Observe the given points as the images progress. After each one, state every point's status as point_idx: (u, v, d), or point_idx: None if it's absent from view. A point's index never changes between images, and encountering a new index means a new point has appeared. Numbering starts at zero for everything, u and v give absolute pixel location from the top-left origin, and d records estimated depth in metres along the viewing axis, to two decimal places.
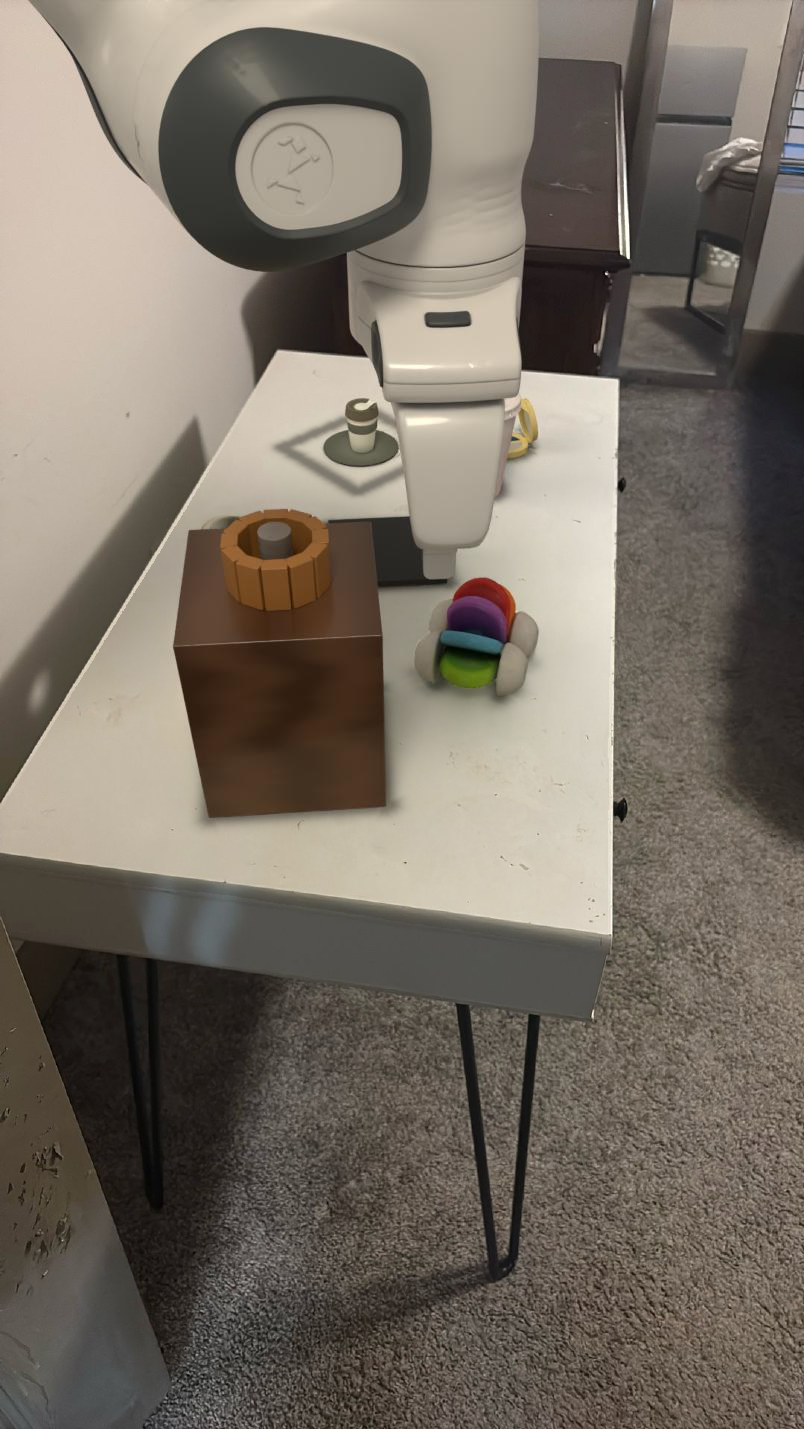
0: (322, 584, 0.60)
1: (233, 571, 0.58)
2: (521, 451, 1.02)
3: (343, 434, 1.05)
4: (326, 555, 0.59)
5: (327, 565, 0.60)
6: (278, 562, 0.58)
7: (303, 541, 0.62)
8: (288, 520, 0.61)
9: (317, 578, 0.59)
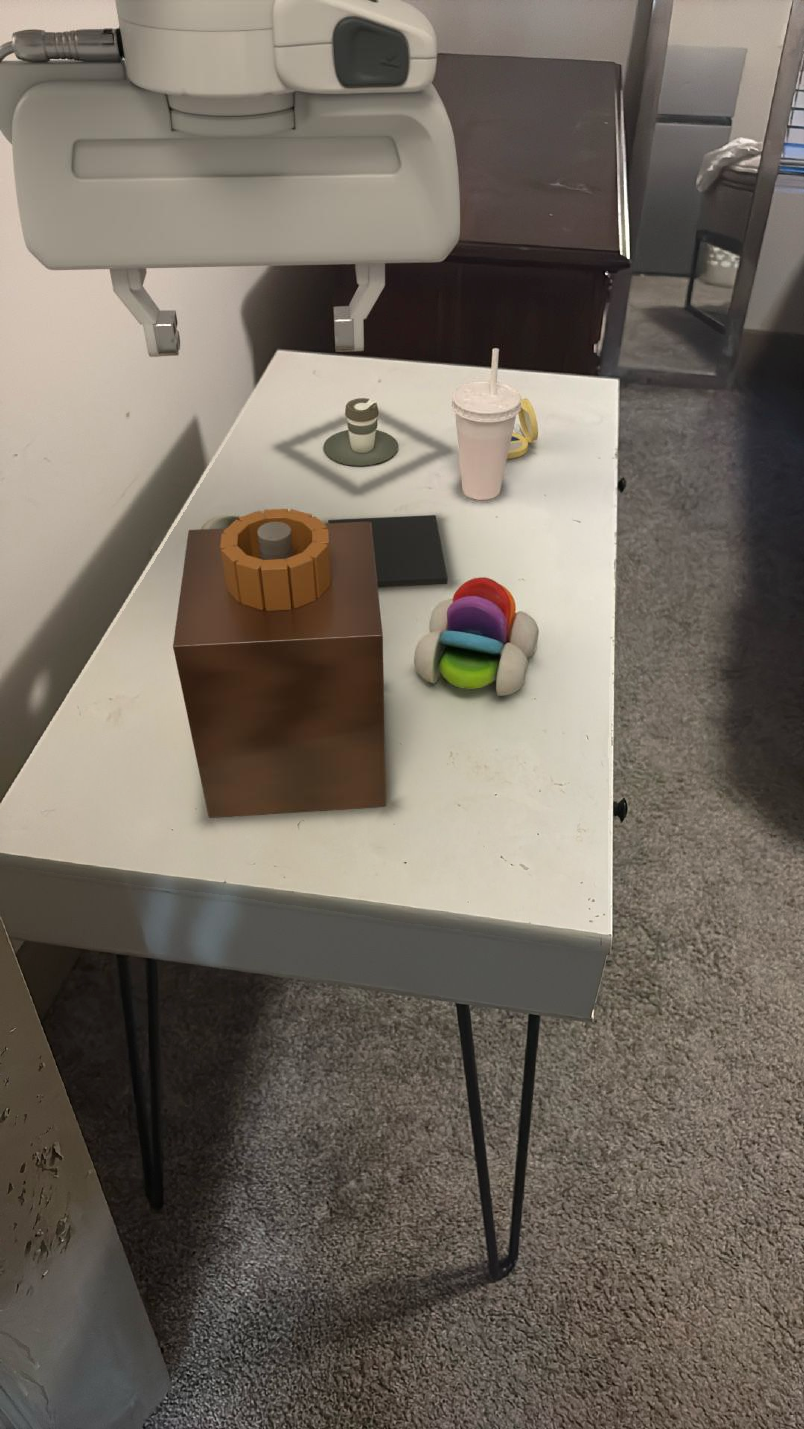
0: (322, 584, 0.60)
1: (233, 571, 0.58)
2: (521, 451, 1.02)
3: (343, 434, 1.05)
4: (326, 555, 0.59)
5: (327, 565, 0.60)
6: (278, 562, 0.58)
7: (303, 541, 0.62)
8: (288, 520, 0.61)
9: (317, 578, 0.59)
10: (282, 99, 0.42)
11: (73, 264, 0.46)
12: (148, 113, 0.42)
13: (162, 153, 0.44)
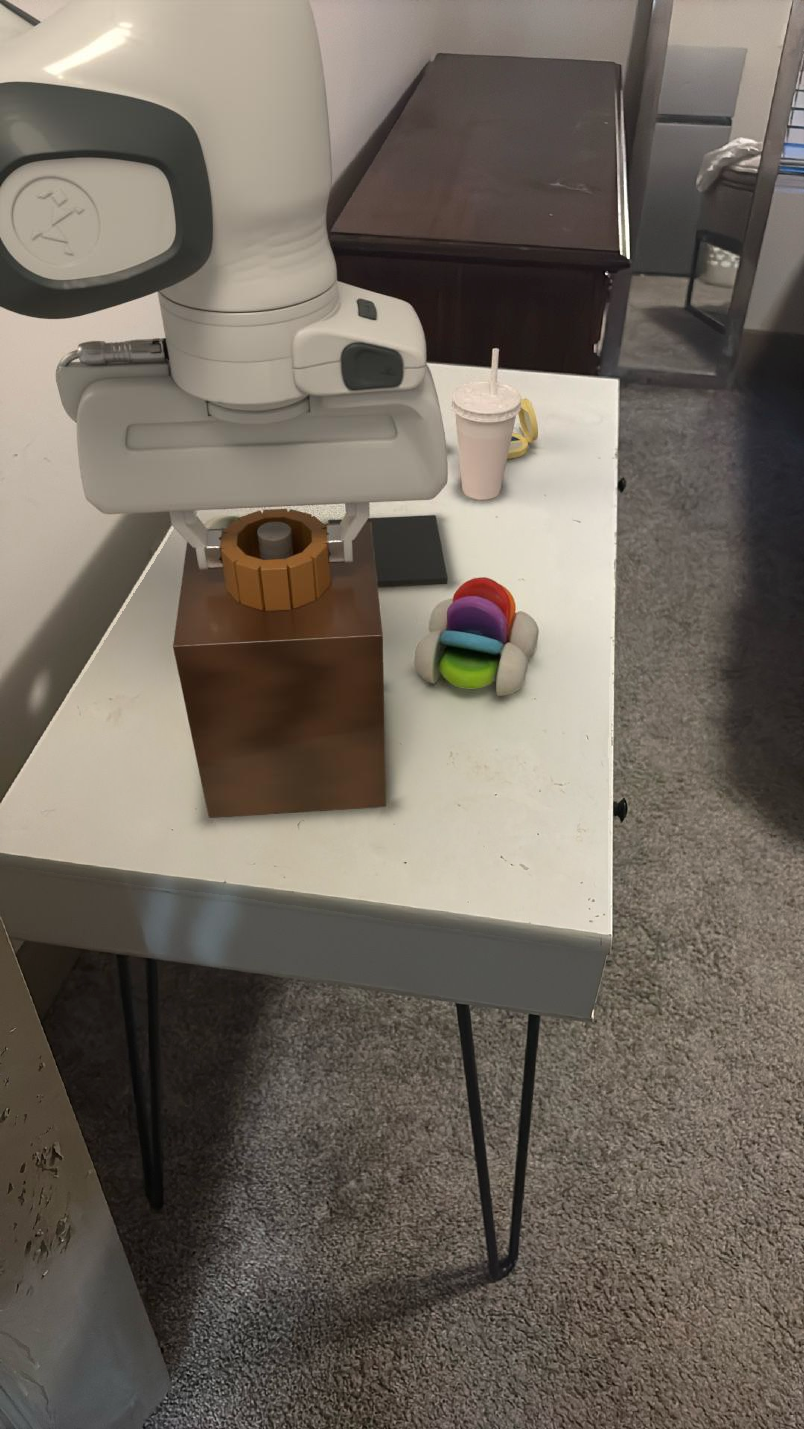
0: (322, 584, 0.60)
1: (233, 571, 0.58)
2: (521, 451, 1.02)
3: None
4: (326, 555, 0.59)
5: (327, 565, 0.60)
6: (278, 562, 0.58)
7: (303, 541, 0.62)
8: (288, 520, 0.61)
9: (316, 578, 0.59)
10: None
11: (124, 510, 0.55)
12: (189, 405, 0.51)
13: (200, 430, 0.53)
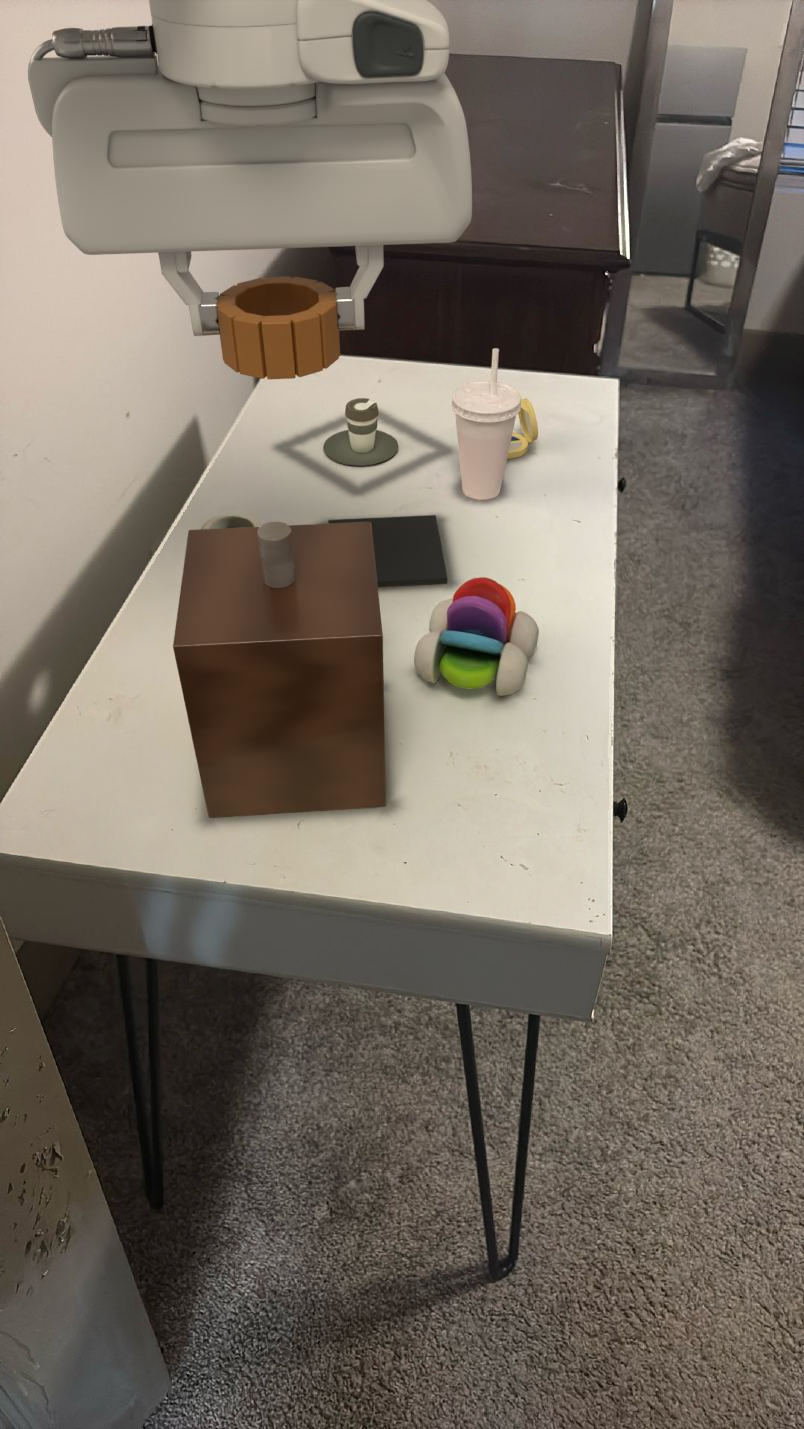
0: (330, 352, 0.54)
1: (230, 331, 0.52)
2: (521, 451, 1.02)
3: (343, 434, 1.05)
4: (334, 317, 0.53)
5: (335, 330, 0.53)
6: (281, 317, 0.51)
7: None
8: (292, 286, 0.55)
9: (324, 342, 0.53)
10: (305, 89, 0.45)
11: (108, 249, 0.49)
12: (179, 105, 0.45)
13: (192, 142, 0.46)
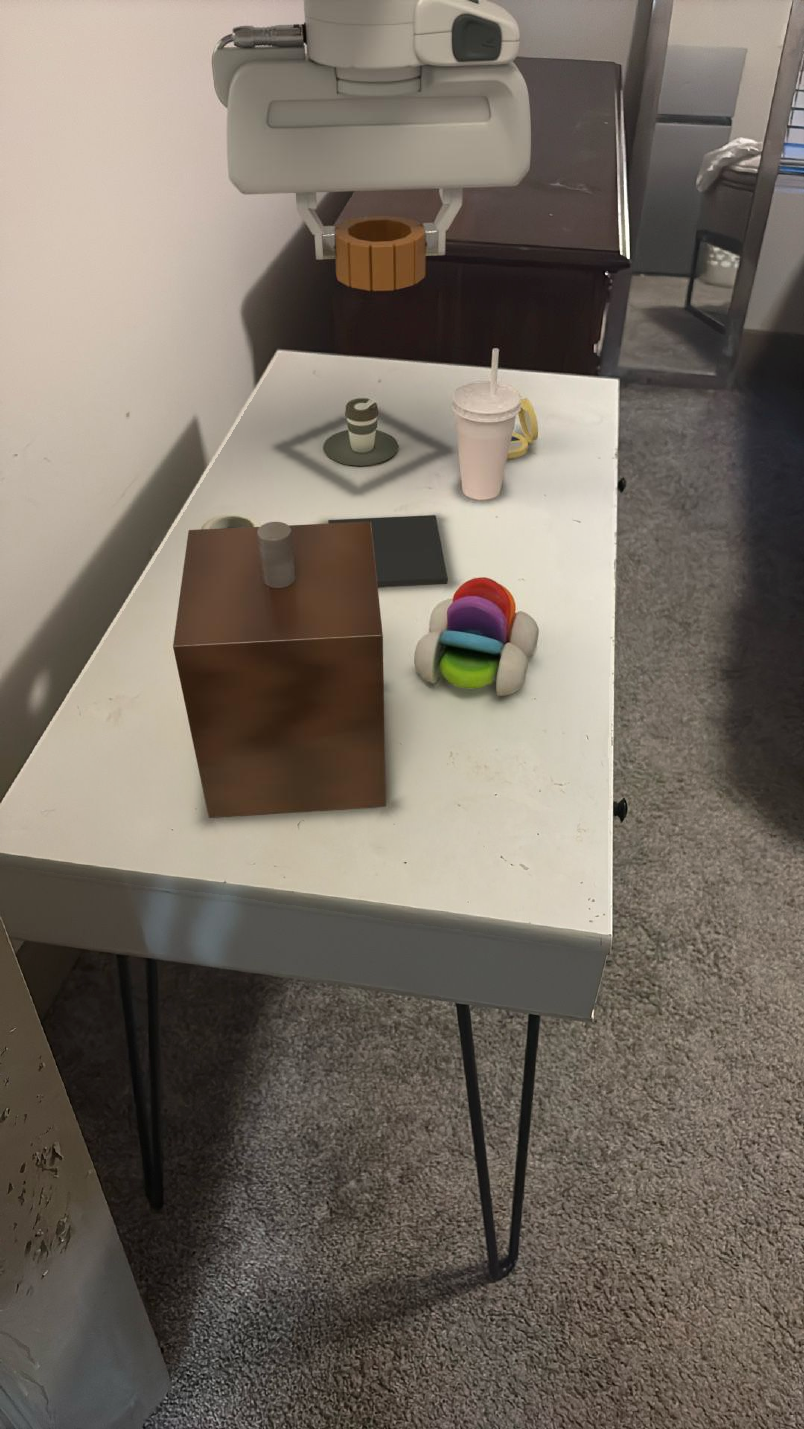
0: (419, 271, 0.71)
1: (346, 254, 0.69)
2: (521, 451, 1.02)
3: (343, 434, 1.05)
4: (423, 244, 0.70)
5: (423, 254, 0.71)
6: (385, 242, 0.68)
7: None
8: (388, 222, 0.72)
9: (416, 263, 0.70)
10: (414, 70, 0.62)
11: (260, 189, 0.66)
12: (322, 81, 0.62)
13: (328, 109, 0.64)
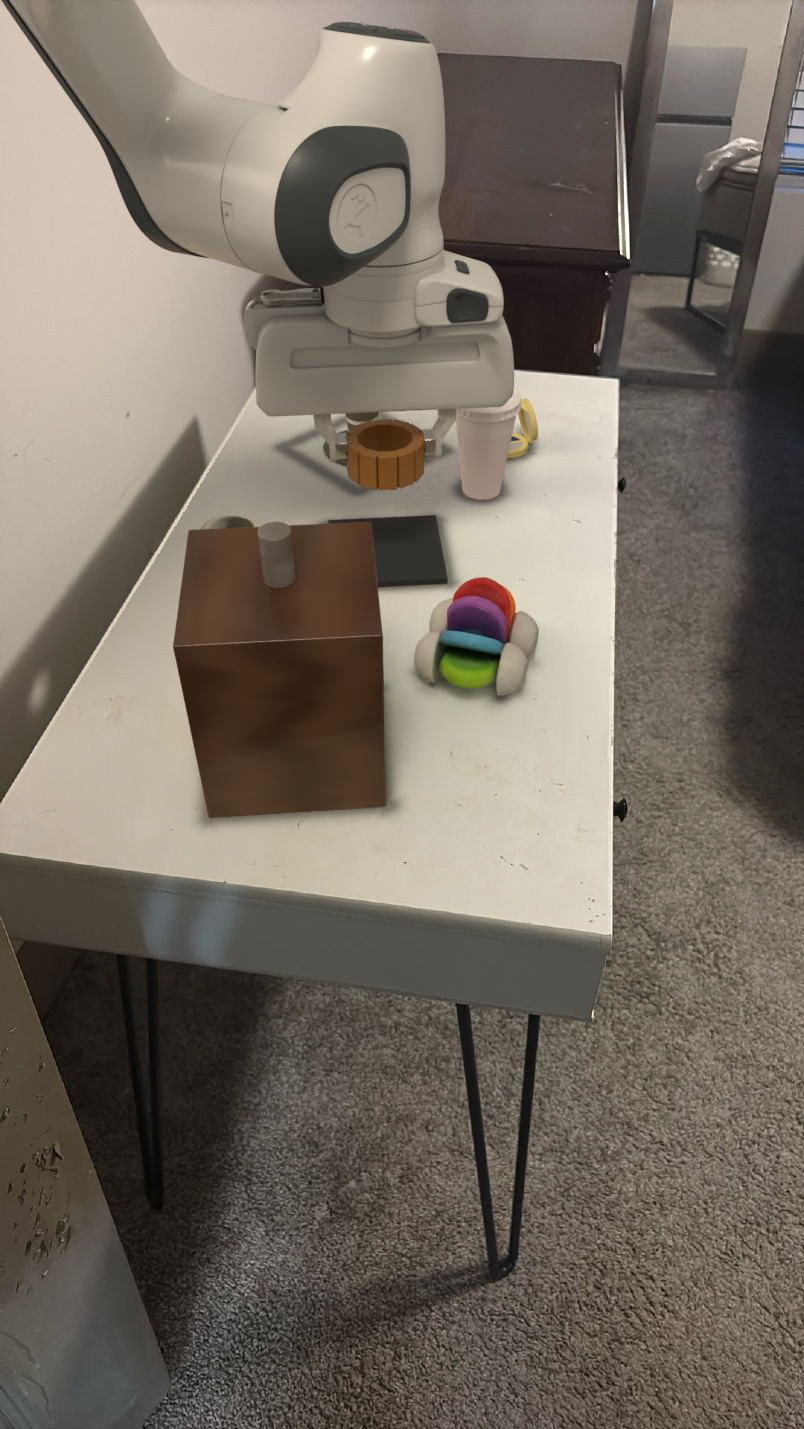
0: (419, 472, 0.82)
1: (356, 461, 0.81)
2: (521, 451, 1.02)
3: None
4: (422, 450, 0.82)
5: (422, 458, 0.82)
6: (390, 453, 0.80)
7: (403, 442, 0.84)
8: (392, 427, 0.83)
9: (416, 466, 0.81)
10: None
11: (283, 413, 0.78)
12: (337, 334, 0.74)
13: (342, 353, 0.75)
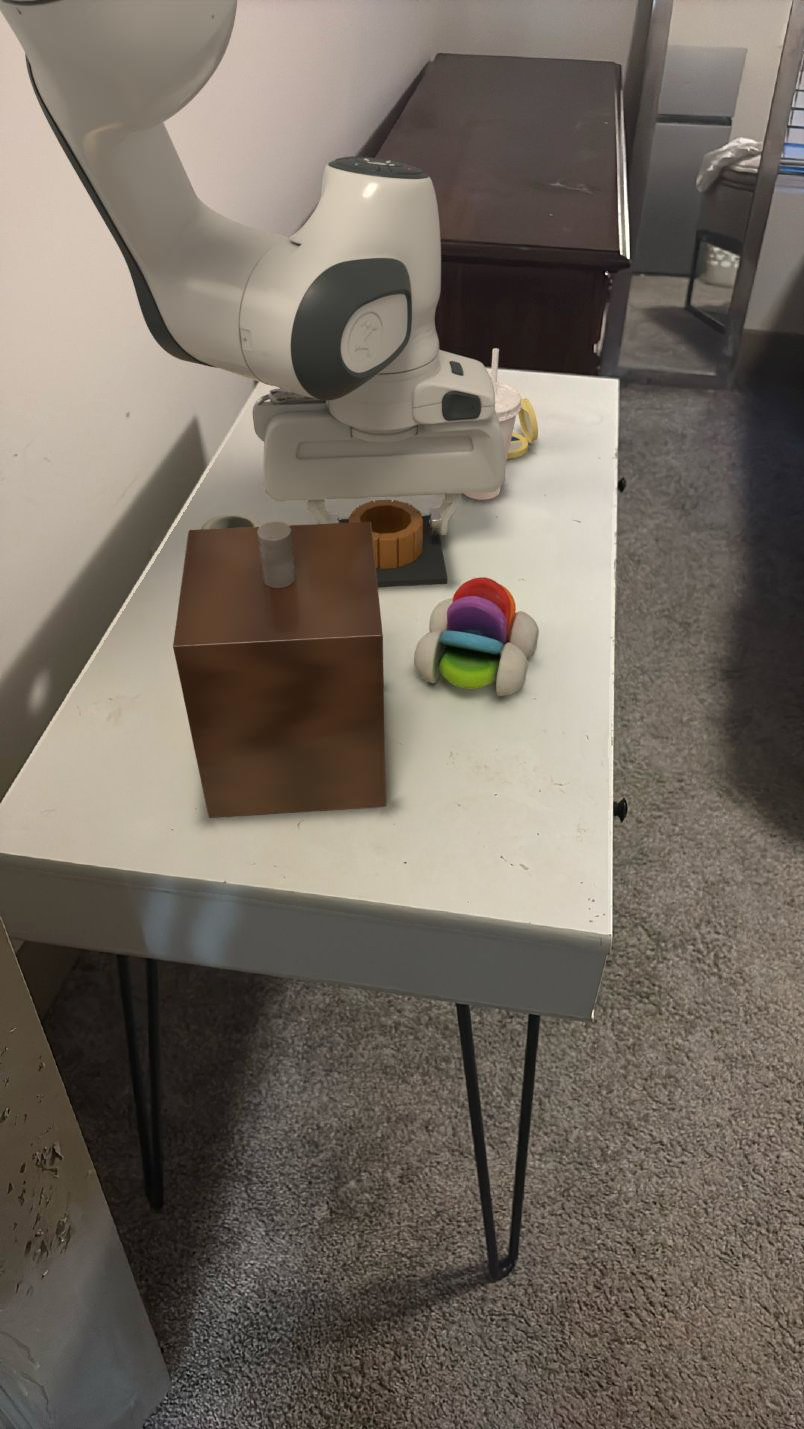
0: (417, 551, 0.88)
1: None
2: (521, 451, 1.02)
3: None
4: (421, 531, 0.87)
5: (421, 538, 0.87)
6: (390, 535, 0.85)
7: (402, 522, 0.89)
8: (392, 507, 0.89)
9: (415, 546, 0.87)
10: None
11: (289, 499, 0.83)
12: (340, 429, 0.79)
13: (344, 445, 0.80)
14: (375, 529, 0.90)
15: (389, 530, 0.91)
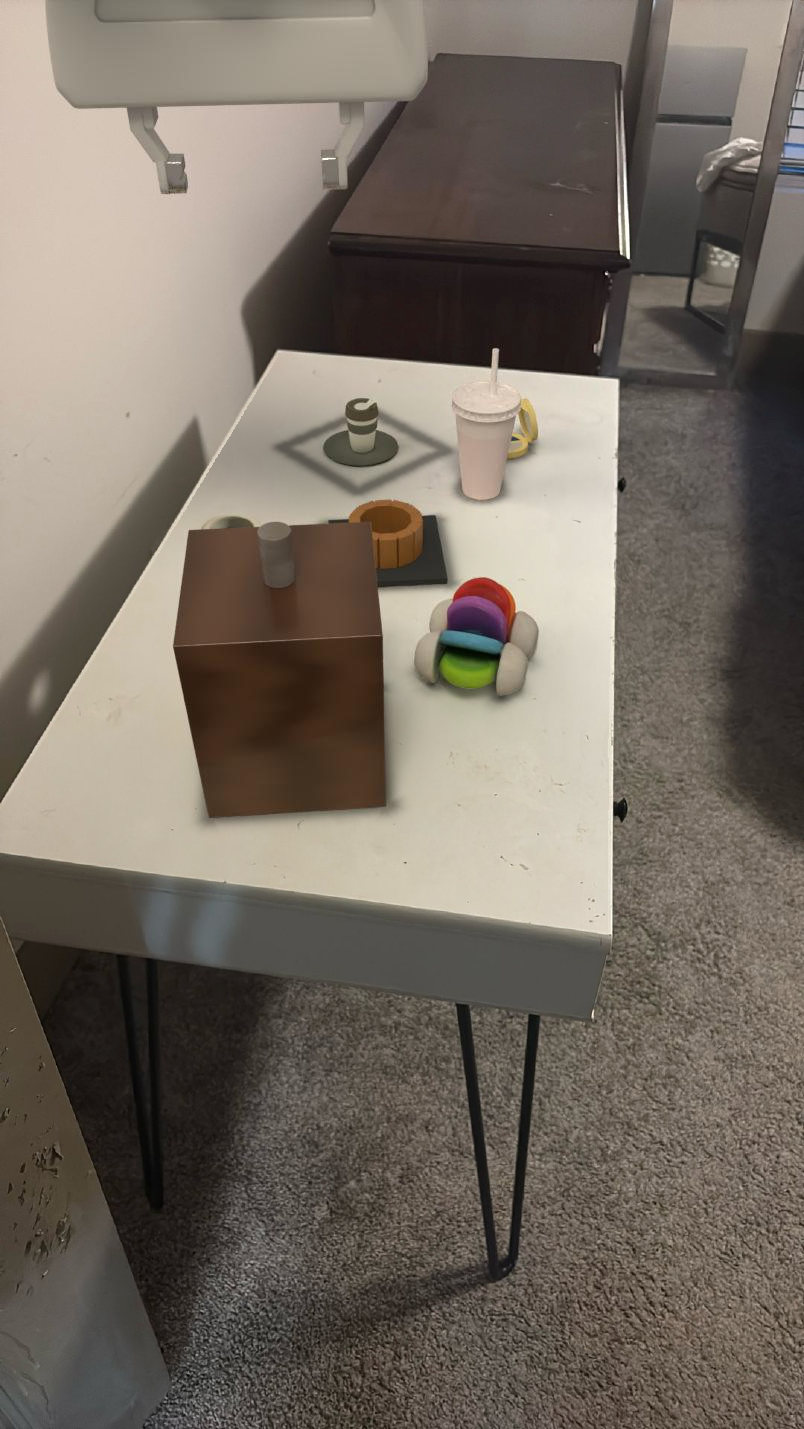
0: (417, 551, 0.88)
1: None
2: (521, 451, 1.02)
3: (343, 434, 1.05)
4: (421, 531, 0.87)
5: (421, 538, 0.87)
6: (390, 535, 0.85)
7: (402, 522, 0.89)
8: (392, 507, 0.89)
9: (415, 546, 0.87)
10: None
11: (96, 102, 0.54)
12: None
13: None
14: (375, 529, 0.90)
15: (389, 530, 0.91)
